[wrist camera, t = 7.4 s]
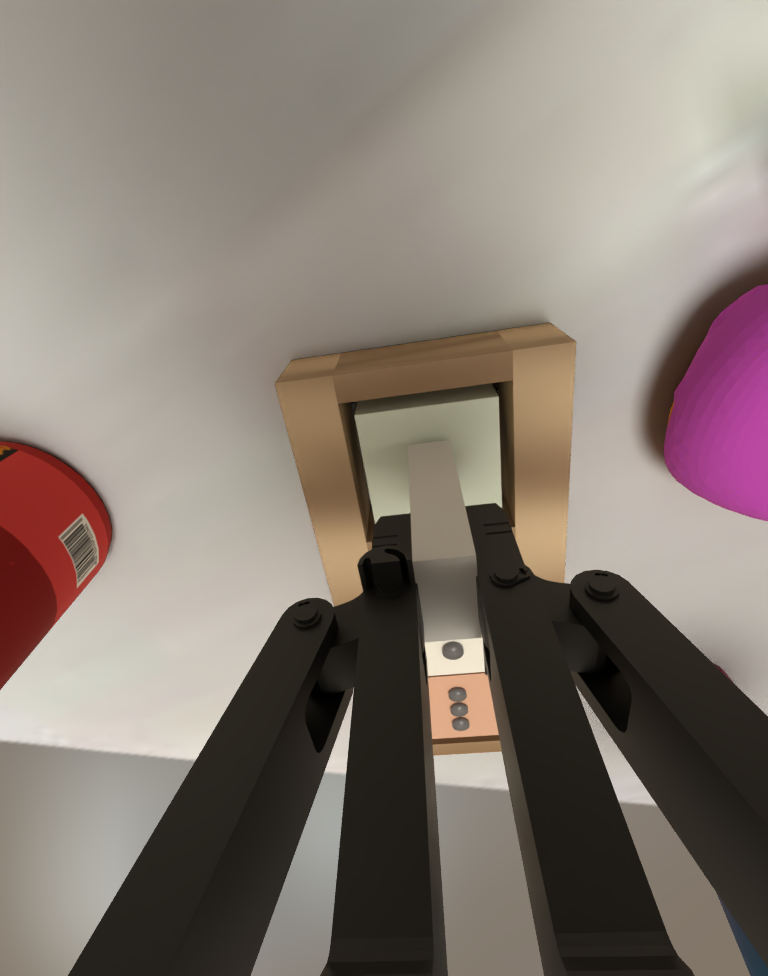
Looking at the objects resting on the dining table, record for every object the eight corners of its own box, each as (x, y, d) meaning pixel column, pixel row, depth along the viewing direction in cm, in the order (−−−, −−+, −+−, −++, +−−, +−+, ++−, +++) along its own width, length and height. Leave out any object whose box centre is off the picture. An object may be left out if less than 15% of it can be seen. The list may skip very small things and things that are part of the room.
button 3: (404, 645, 25) (404, 682, 23) (499, 638, 25) (507, 675, 23) (415, 705, 28) (416, 743, 26) (501, 699, 27) (509, 737, 25)
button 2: (384, 560, 21) (382, 597, 19) (500, 549, 20) (512, 585, 18) (399, 641, 23) (399, 682, 21) (503, 633, 23) (513, 673, 21)
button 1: (358, 395, 19) (353, 417, 17) (488, 377, 18) (499, 398, 16) (378, 503, 21) (376, 534, 19) (493, 491, 21) (503, 520, 19)
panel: (291, 360, 19) (274, 383, 16) (550, 322, 18) (576, 341, 15) (377, 710, 30) (375, 759, 27) (541, 699, 29) (556, 748, 26)
